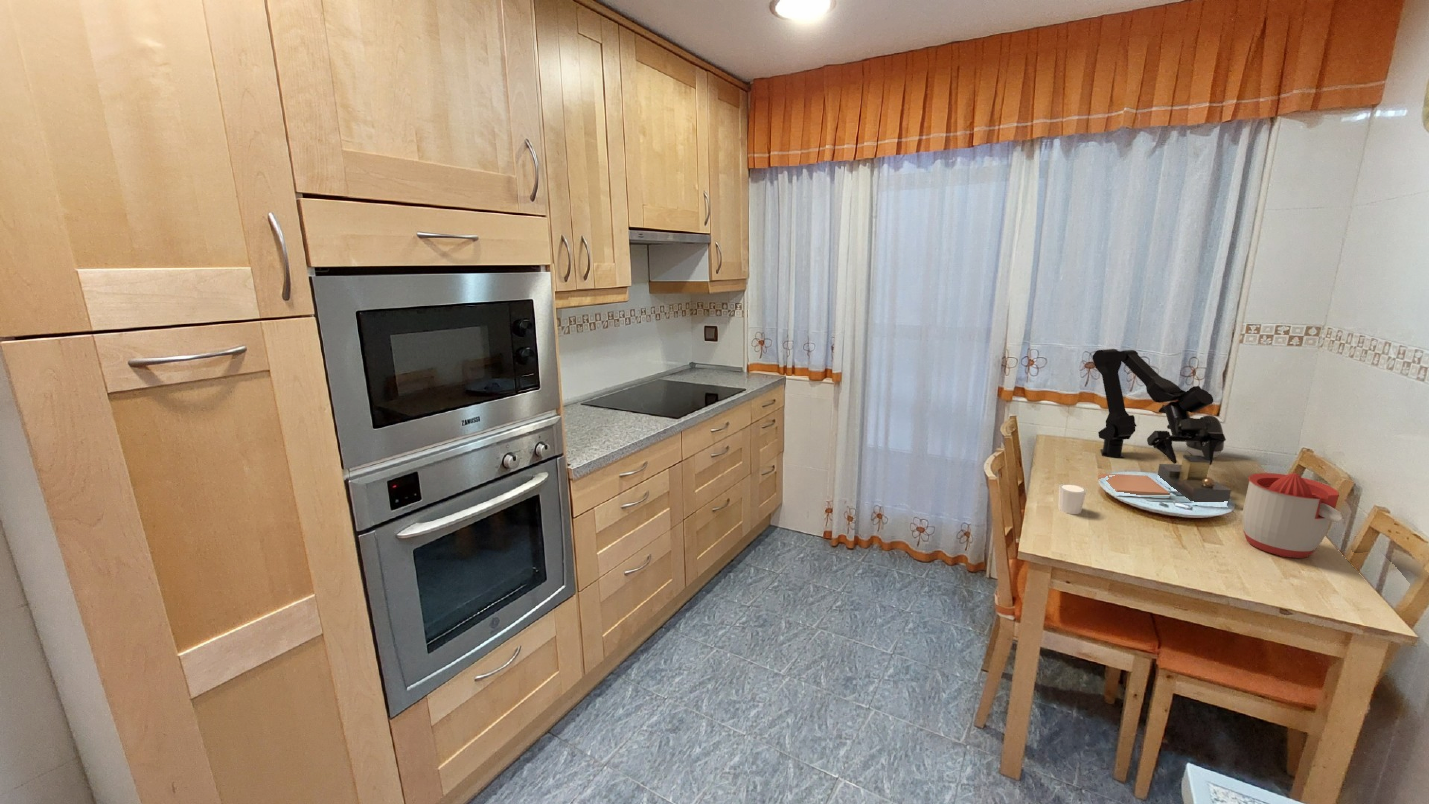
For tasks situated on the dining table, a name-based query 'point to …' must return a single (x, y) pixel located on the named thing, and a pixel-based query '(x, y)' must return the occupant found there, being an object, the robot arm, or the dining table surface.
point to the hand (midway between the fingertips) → (1192, 463)
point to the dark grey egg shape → (1195, 446)
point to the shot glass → (1071, 498)
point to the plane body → (1194, 485)
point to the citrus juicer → (1288, 513)
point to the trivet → (1134, 484)
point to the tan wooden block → (1194, 468)
